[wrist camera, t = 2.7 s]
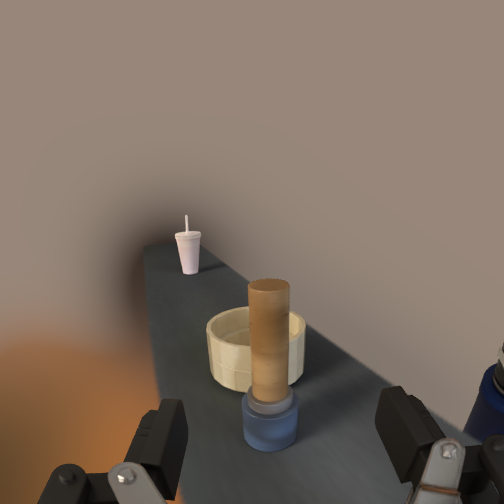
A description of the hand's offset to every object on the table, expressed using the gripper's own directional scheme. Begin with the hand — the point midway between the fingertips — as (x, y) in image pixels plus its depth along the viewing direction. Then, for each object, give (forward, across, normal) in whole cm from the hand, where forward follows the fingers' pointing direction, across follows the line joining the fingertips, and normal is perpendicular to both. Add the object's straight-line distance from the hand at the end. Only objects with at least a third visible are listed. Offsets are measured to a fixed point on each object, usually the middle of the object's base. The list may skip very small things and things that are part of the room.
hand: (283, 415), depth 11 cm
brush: (+11, 0, +12) cm, 16 cm away
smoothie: (+65, +17, +12) cm, 68 cm away
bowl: (+22, +1, +12) cm, 25 cm away
